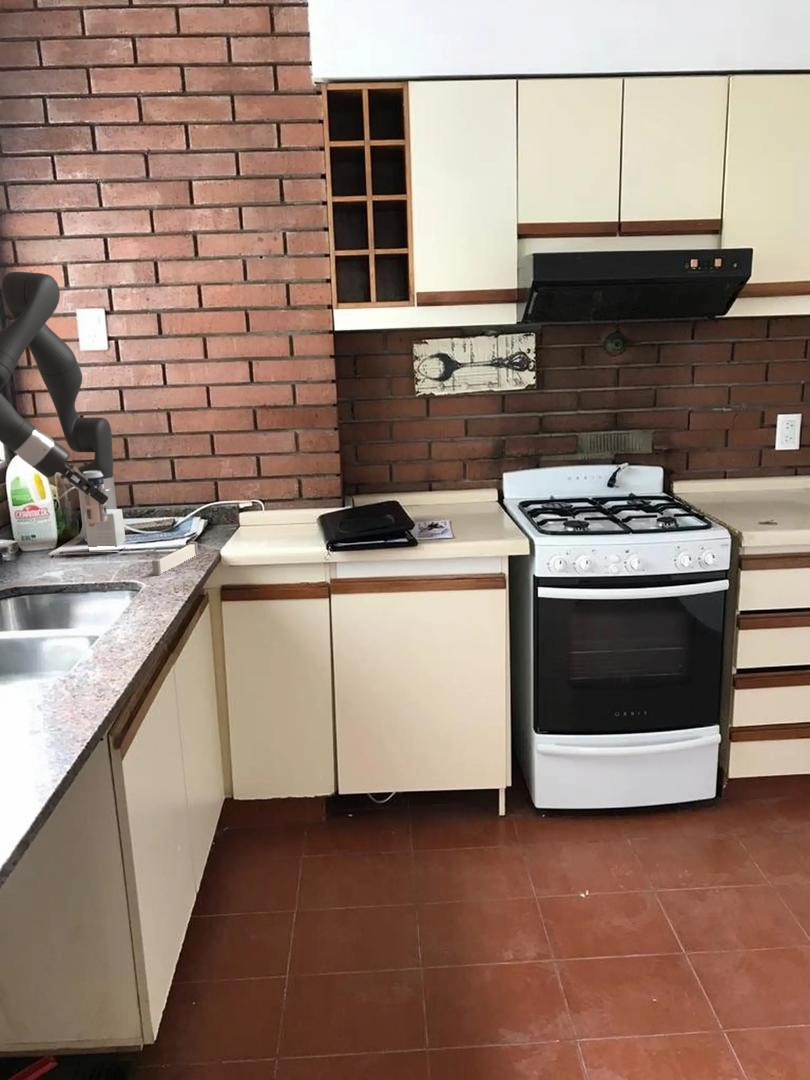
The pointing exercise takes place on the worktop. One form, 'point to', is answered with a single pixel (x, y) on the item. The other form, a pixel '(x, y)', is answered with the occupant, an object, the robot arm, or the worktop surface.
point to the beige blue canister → (92, 507)
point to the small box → (106, 530)
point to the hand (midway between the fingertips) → (103, 499)
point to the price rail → (174, 558)
